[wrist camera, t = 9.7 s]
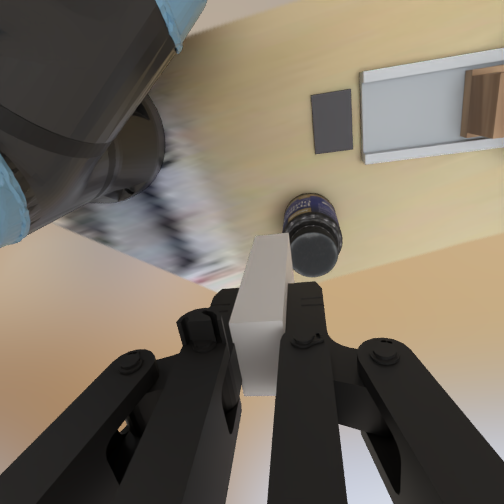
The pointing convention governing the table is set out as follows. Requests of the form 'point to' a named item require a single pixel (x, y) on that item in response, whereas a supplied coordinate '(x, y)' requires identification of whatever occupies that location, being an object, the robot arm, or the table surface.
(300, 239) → the pill bottle
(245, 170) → the table surface
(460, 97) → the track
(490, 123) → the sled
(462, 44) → the table surface
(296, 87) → the table surface
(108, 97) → the robot arm
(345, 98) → the dark grey flat block
